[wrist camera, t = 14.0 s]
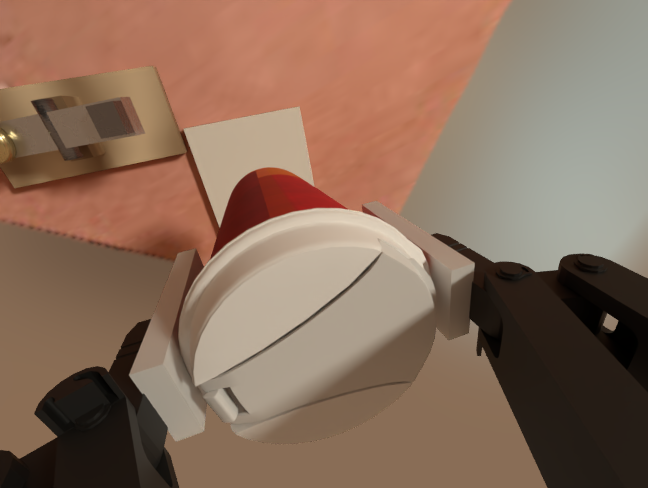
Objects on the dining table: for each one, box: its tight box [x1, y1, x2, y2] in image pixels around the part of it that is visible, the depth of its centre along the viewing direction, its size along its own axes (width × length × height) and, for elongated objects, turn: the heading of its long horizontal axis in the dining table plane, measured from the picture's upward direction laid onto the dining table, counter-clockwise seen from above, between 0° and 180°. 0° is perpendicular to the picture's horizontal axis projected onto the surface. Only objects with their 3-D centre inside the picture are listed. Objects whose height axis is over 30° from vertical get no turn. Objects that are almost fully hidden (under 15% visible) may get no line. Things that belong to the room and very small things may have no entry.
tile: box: [184, 107, 314, 228], centre depth 30 cm, size 11×11×1 cm
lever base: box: [0, 66, 187, 188], centre depth 23 cm, size 14×7×4 cm, turn 100°
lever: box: [0, 97, 145, 164], centre depth 20 cm, size 12×4×2 cm, turn 100°
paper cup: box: [178, 167, 437, 444], centre depth 14 cm, size 8×8×14 cm
